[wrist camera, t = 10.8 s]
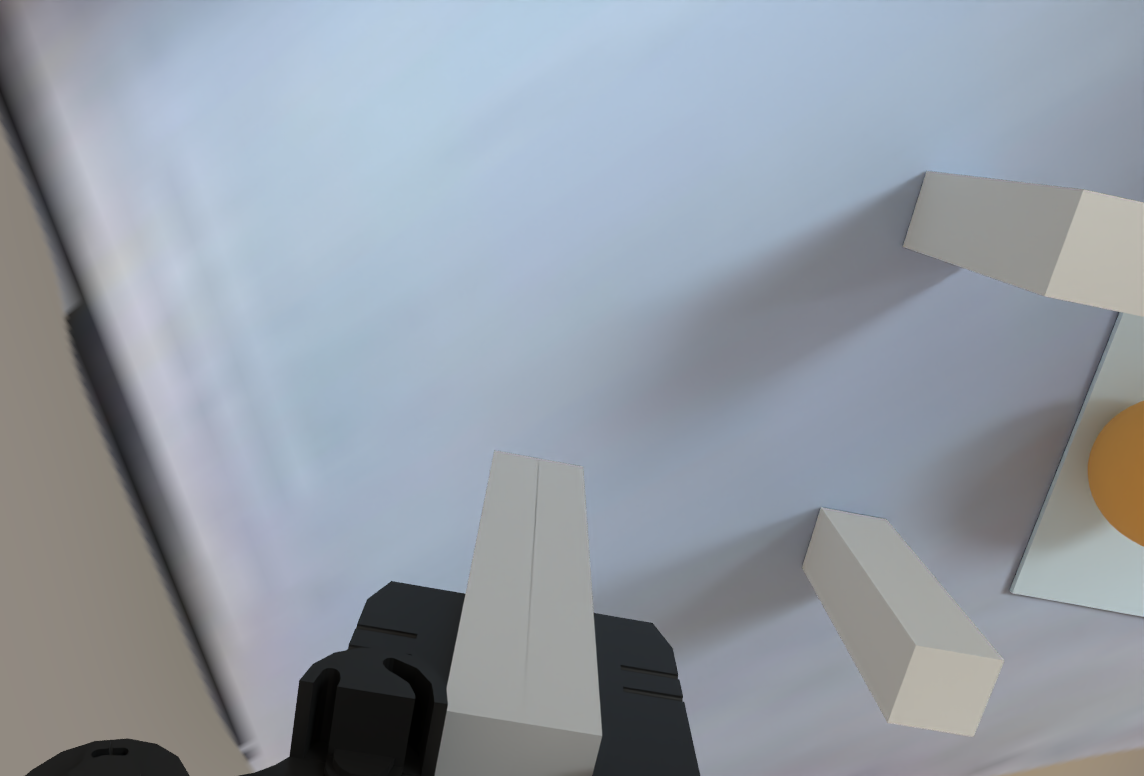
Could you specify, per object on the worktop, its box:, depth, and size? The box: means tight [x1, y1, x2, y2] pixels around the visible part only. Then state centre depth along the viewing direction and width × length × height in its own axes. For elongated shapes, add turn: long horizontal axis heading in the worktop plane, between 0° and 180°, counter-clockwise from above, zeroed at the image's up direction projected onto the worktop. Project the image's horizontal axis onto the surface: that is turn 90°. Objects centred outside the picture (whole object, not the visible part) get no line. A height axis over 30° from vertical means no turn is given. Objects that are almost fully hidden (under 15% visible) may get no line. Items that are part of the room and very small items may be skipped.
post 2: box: [903, 171, 1144, 317], centre depth 25 cm, size 3×3×9 cm
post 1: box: [802, 507, 1004, 737], centre depth 28 cm, size 3×3×9 cm
